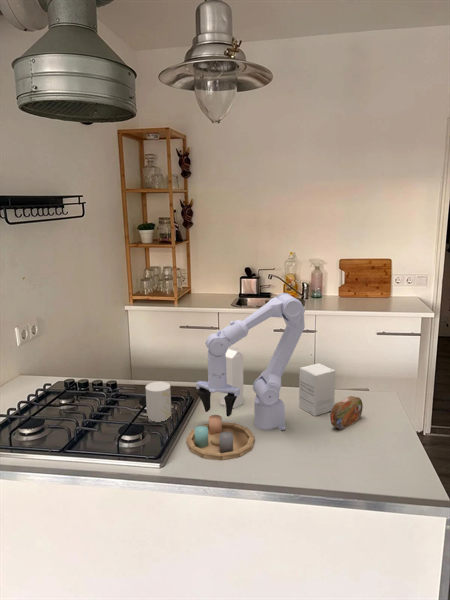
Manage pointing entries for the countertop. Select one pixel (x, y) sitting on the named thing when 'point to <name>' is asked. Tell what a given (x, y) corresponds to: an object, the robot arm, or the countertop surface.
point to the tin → (346, 412)
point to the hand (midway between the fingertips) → (218, 412)
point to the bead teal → (201, 436)
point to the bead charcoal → (225, 442)
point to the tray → (241, 442)
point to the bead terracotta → (215, 424)
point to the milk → (234, 374)
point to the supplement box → (316, 389)
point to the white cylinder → (158, 401)
